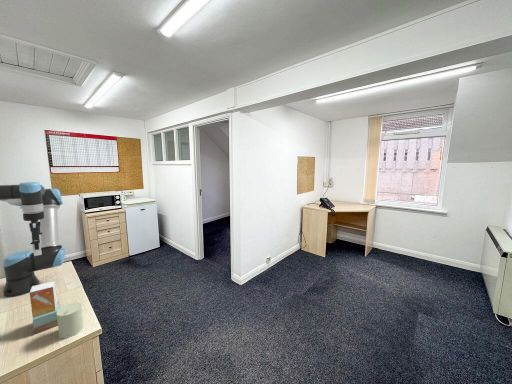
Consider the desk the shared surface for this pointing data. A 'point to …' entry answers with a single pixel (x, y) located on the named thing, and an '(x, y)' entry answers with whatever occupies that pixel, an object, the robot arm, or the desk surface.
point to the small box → (43, 298)
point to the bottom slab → (44, 327)
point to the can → (70, 320)
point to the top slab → (46, 317)
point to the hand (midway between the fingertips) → (38, 250)
